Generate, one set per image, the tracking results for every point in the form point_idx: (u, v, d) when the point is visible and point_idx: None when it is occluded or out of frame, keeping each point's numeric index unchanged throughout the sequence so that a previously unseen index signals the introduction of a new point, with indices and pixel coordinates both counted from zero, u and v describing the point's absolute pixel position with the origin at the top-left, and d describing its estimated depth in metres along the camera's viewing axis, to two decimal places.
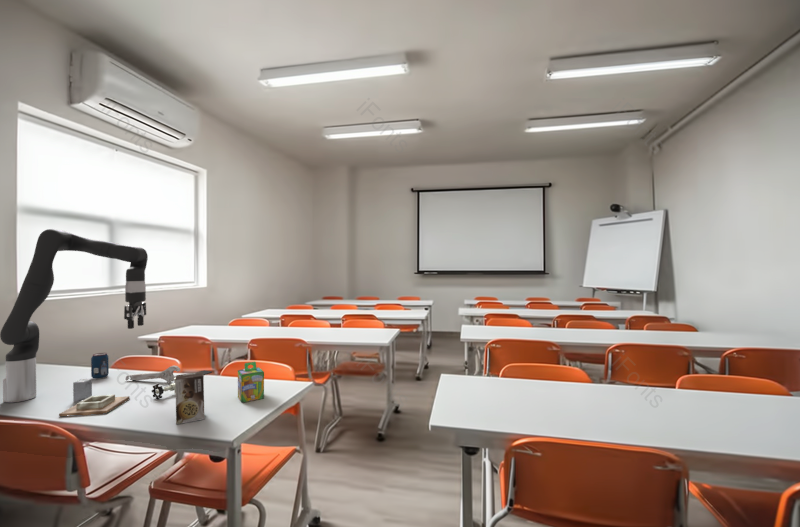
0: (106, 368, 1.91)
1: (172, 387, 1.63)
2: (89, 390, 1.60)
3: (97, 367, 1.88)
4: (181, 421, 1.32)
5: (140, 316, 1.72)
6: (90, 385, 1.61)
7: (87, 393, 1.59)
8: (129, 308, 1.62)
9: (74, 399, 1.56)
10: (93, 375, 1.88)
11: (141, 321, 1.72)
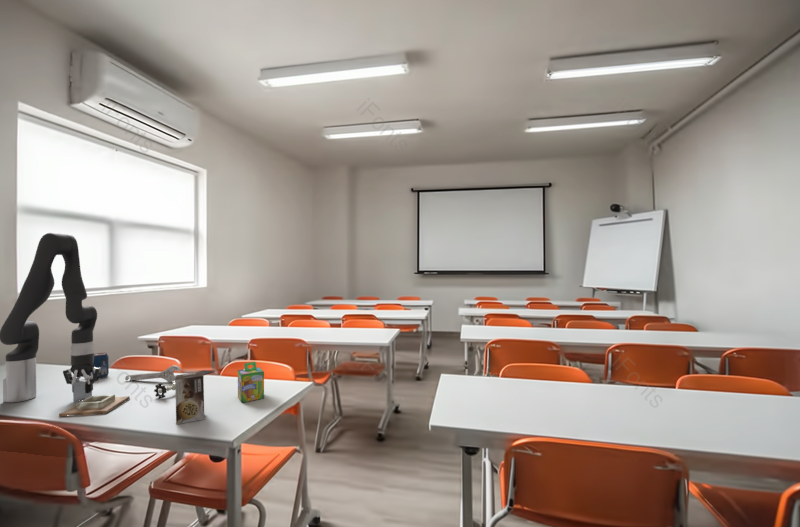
0: (106, 368, 1.91)
1: (174, 386, 1.63)
2: None
3: (97, 367, 1.88)
4: (181, 421, 1.32)
5: None
6: None
7: (87, 393, 1.59)
8: (100, 371, 1.61)
9: (74, 399, 1.56)
10: (93, 375, 1.88)
11: None
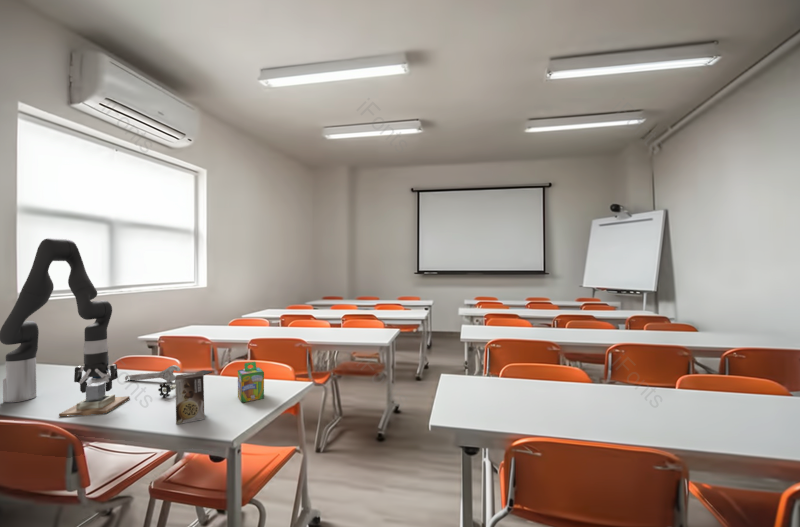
0: None
1: None
2: (102, 395, 1.50)
3: None
4: (181, 421, 1.32)
5: (84, 381, 1.49)
6: (103, 389, 1.51)
7: (100, 398, 1.49)
8: (116, 367, 1.51)
9: None
10: None
11: None
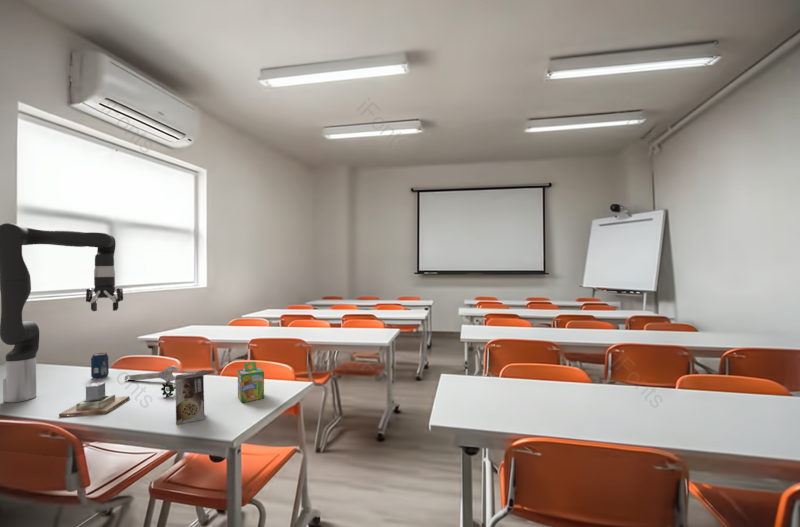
0: (106, 368, 1.91)
1: None
2: (102, 395, 1.50)
3: (97, 367, 1.88)
4: (181, 421, 1.32)
5: (94, 302, 1.73)
6: (103, 389, 1.51)
7: (100, 398, 1.49)
8: (122, 290, 1.75)
9: None
10: (93, 375, 1.88)
11: (96, 306, 1.73)
